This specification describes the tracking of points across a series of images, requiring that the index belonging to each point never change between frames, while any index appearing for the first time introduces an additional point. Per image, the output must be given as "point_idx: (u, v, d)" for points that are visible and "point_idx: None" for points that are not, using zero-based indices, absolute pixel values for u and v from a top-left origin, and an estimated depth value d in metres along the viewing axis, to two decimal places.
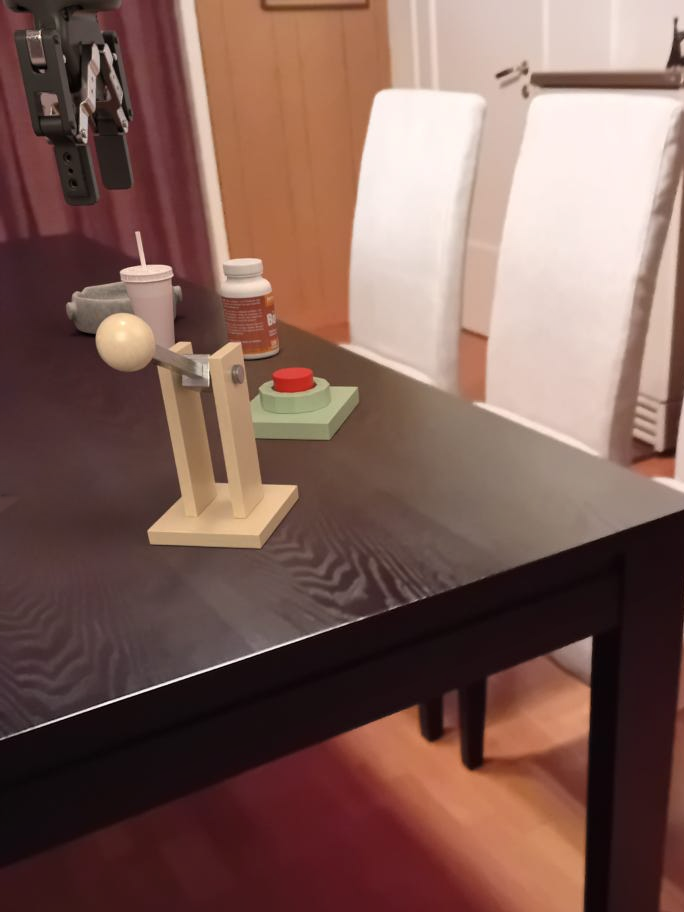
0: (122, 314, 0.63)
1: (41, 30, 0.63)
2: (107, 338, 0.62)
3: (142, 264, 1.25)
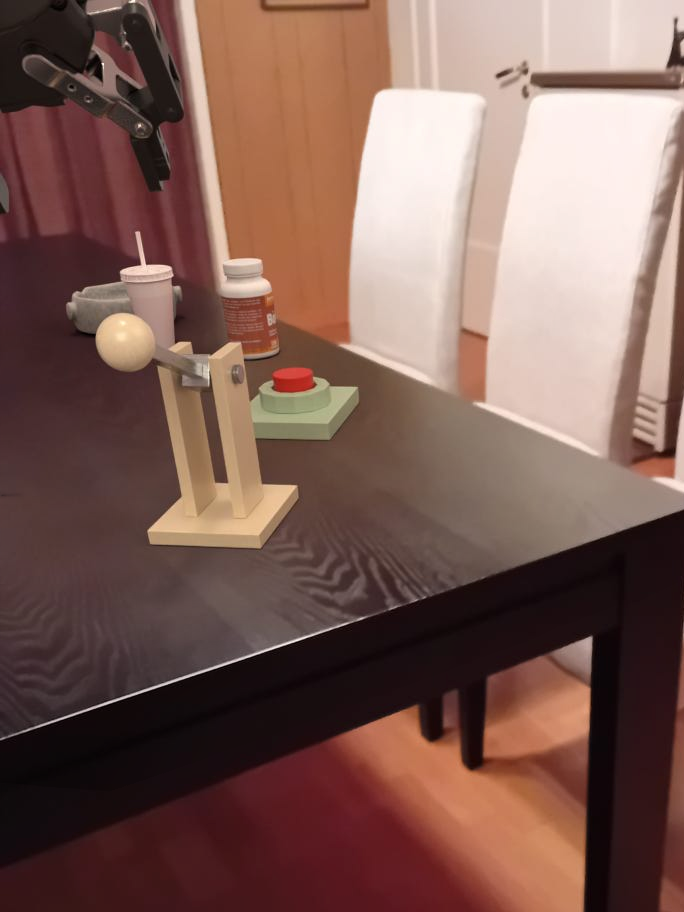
0: (122, 314, 0.63)
1: None
2: (107, 338, 0.62)
3: (142, 264, 1.25)
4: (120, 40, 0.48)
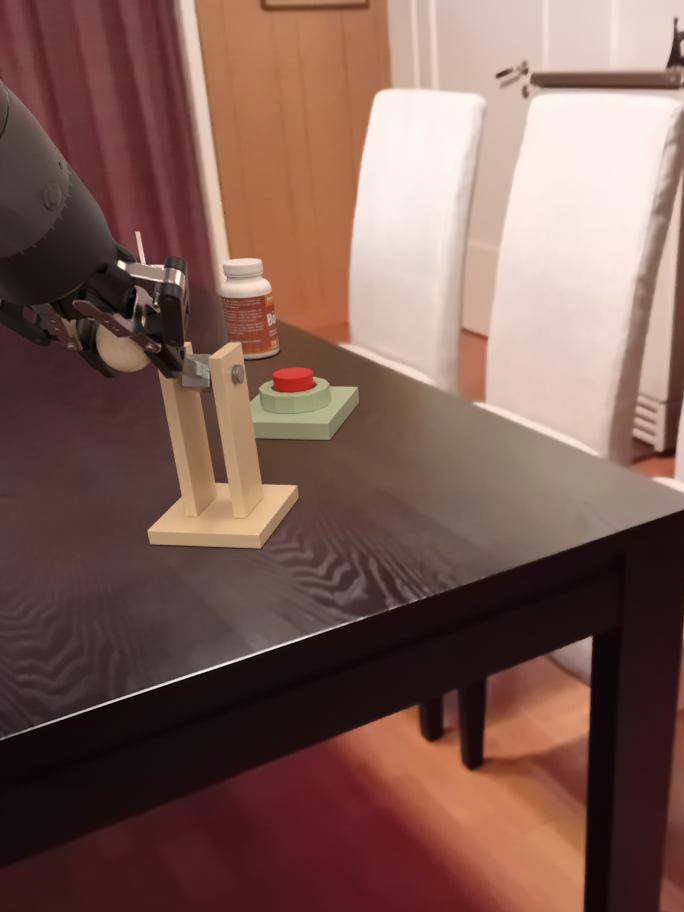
0: None
1: None
2: (107, 338, 0.62)
3: None
4: (151, 294, 0.57)
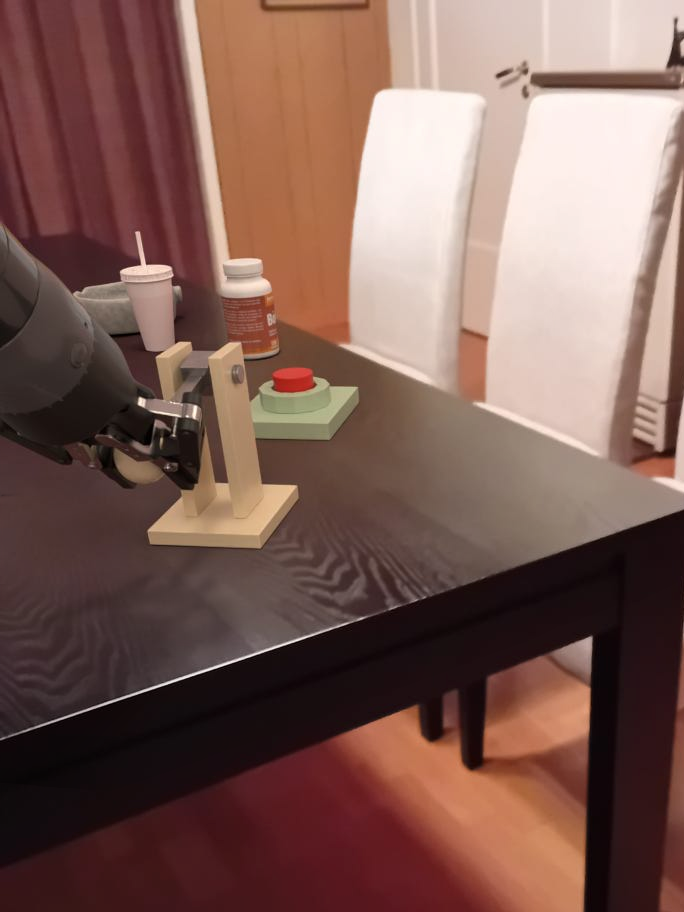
0: None
1: None
2: (127, 471, 0.66)
3: (142, 264, 1.25)
4: (169, 426, 0.61)
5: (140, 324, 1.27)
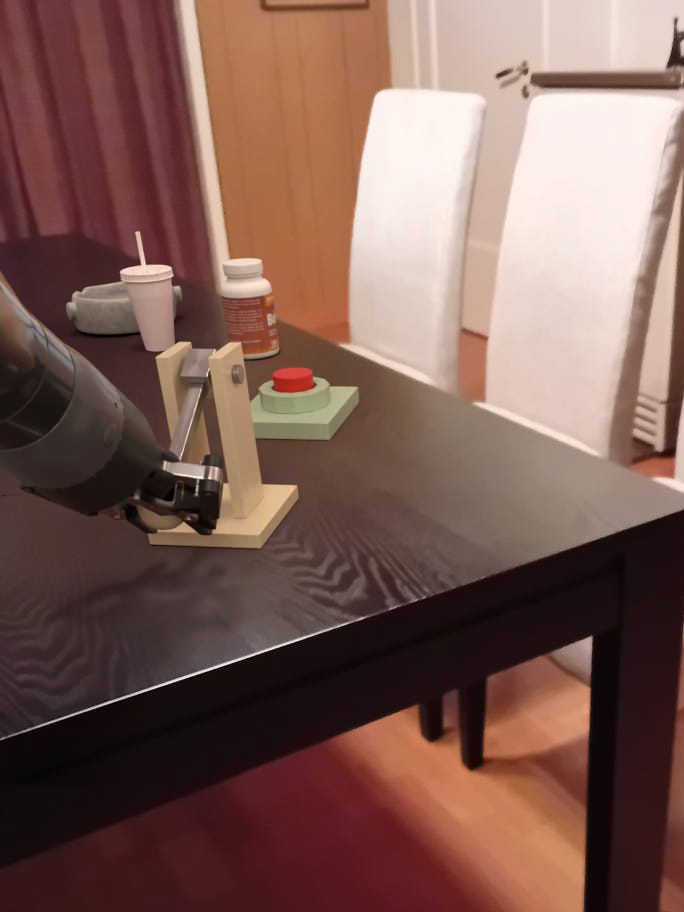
0: None
1: None
2: (153, 525, 0.69)
3: (142, 264, 1.25)
4: (192, 485, 0.64)
5: (140, 324, 1.27)
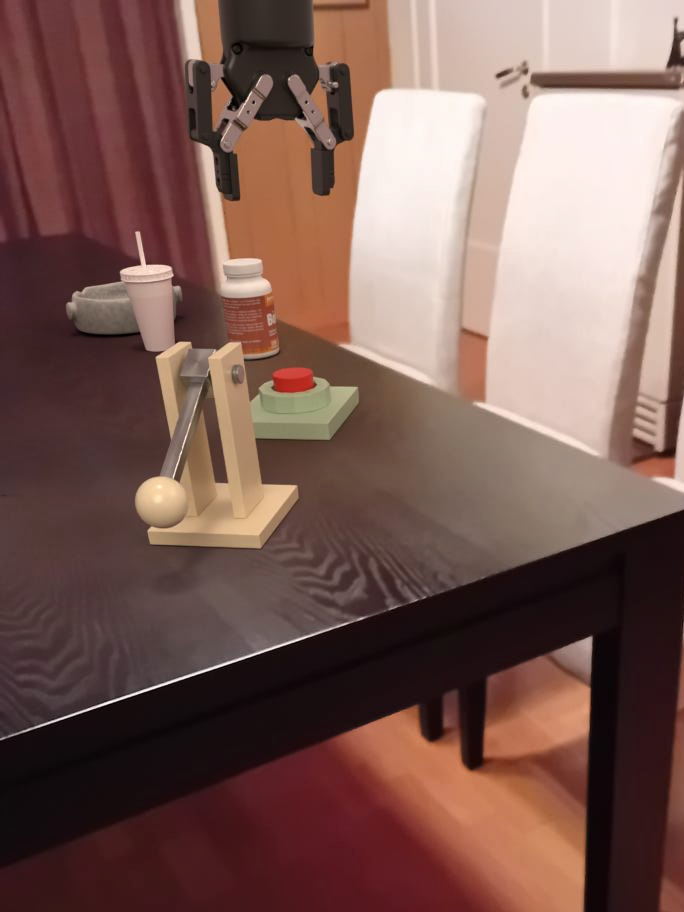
0: (153, 499, 0.68)
1: (196, 60, 0.80)
2: (151, 523, 0.69)
3: (142, 264, 1.25)
4: (328, 86, 0.86)
5: (140, 324, 1.27)
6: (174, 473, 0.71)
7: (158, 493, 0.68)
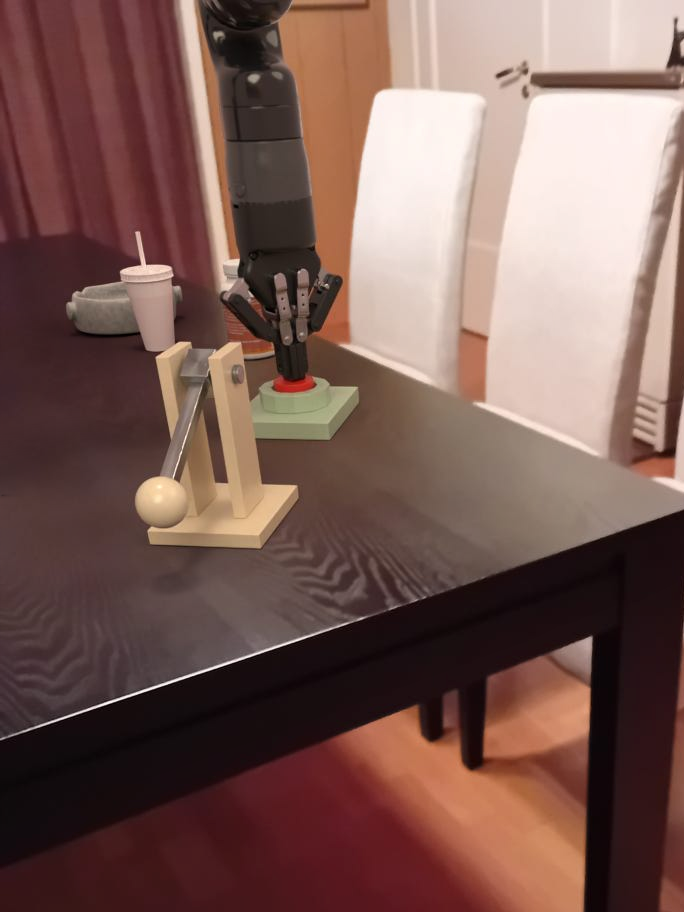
0: (153, 499, 0.68)
1: (228, 297, 0.93)
2: (151, 523, 0.69)
3: (142, 264, 1.25)
4: (320, 284, 0.99)
5: (140, 324, 1.27)
6: (174, 473, 0.71)
7: (158, 493, 0.68)
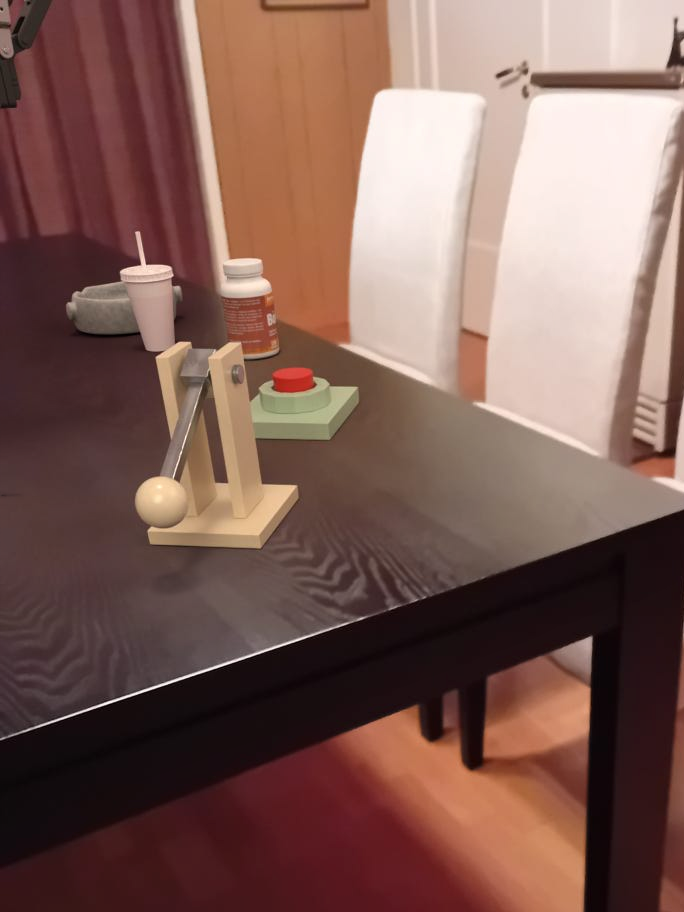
0: (153, 499, 0.68)
1: None
2: (151, 523, 0.69)
3: (142, 264, 1.25)
4: None
5: (140, 324, 1.27)
6: (174, 473, 0.71)
7: (158, 493, 0.68)
